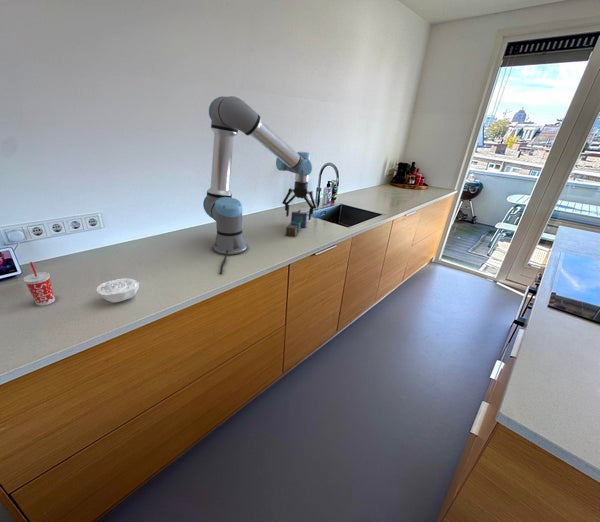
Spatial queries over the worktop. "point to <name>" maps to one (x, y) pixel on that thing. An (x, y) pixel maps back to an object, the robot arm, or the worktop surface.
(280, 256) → the worktop surface
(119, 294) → the cell model
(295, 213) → the flask
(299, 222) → the block
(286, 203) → the robot arm
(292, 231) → the block
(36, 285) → the beverage cup
